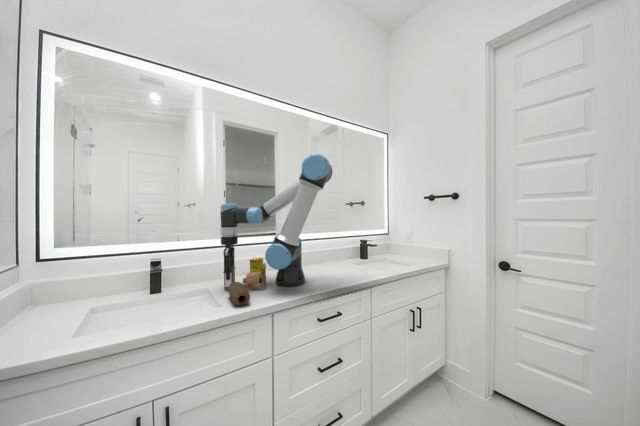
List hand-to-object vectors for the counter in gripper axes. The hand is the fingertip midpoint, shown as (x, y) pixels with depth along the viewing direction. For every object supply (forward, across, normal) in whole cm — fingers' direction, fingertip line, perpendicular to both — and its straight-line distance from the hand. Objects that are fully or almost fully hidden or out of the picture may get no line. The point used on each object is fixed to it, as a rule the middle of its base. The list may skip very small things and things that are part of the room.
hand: (229, 284), depth 114 cm
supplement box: (+2, -16, +11) cm, 20 cm away
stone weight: (+2, +18, +7) cm, 20 cm away
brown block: (+2, 0, +6) cm, 6 cm away
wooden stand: (+2, 0, +11) cm, 11 cm away
